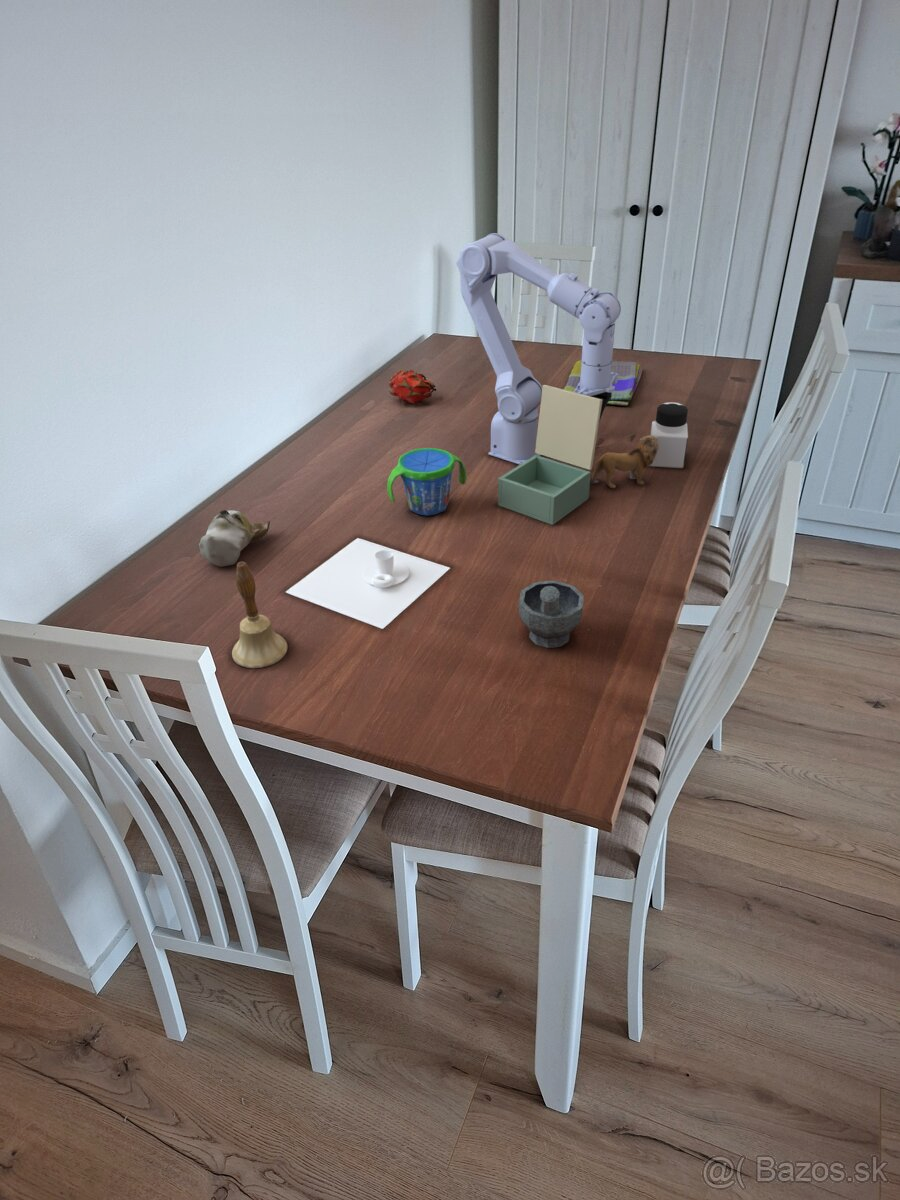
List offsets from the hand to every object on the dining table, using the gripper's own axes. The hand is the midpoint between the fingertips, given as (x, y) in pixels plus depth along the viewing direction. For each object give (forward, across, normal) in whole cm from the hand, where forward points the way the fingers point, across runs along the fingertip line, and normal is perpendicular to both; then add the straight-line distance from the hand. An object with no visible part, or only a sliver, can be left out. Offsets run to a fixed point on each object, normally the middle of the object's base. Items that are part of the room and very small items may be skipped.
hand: (591, 428), depth 168 cm
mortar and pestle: (+10, -52, -24) cm, 58 cm away
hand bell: (+10, -80, +9) cm, 81 cm away
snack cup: (+10, -31, +17) cm, 37 cm away
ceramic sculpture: (+10, -64, +35) cm, 74 cm away
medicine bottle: (+10, +14, -11) cm, 20 cm away
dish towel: (+10, +42, +21) cm, 48 cm away
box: (+9, -16, 0) cm, 19 cm away
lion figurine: (+10, 0, -8) cm, 12 cm away
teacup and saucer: (+10, -56, +9) cm, 58 cm away
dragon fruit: (+10, +7, +54) cm, 55 cm away
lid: (-4, -10, 0) cm, 10 cm away
